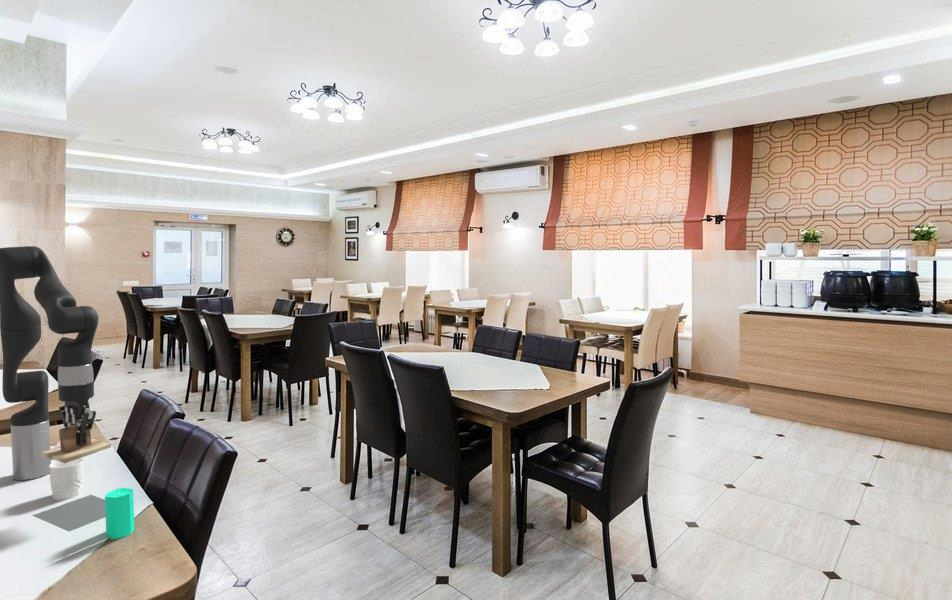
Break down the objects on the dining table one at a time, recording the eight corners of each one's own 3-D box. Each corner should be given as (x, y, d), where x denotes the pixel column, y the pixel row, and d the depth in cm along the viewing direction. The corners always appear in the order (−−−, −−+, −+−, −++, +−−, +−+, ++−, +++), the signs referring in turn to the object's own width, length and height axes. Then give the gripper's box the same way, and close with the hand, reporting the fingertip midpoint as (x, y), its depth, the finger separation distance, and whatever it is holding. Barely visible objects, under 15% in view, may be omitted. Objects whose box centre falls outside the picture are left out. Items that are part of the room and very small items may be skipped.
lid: (42, 455, 136) (38, 430, 135) (88, 440, 146) (85, 416, 145) (64, 463, 131) (61, 437, 130) (111, 447, 141) (108, 422, 140)
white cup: (63, 490, 154) (61, 457, 153) (91, 490, 154) (89, 457, 154) (43, 502, 146) (41, 468, 145) (72, 502, 146) (71, 467, 146)
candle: (120, 540, 126) (118, 492, 126) (99, 537, 128) (98, 490, 127) (140, 528, 132) (139, 482, 132) (121, 525, 134) (119, 480, 133)
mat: (32, 517, 137) (32, 515, 137) (90, 496, 150) (90, 494, 150) (69, 533, 129) (69, 531, 129) (127, 509, 142) (127, 508, 142)
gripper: (45, 380, 137) (48, 444, 138) (74, 387, 131) (77, 453, 132) (77, 375, 144) (79, 436, 145) (106, 381, 138) (108, 444, 139)
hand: (78, 444), depth 139 cm, fingers closed on lid, 2 cm apart
